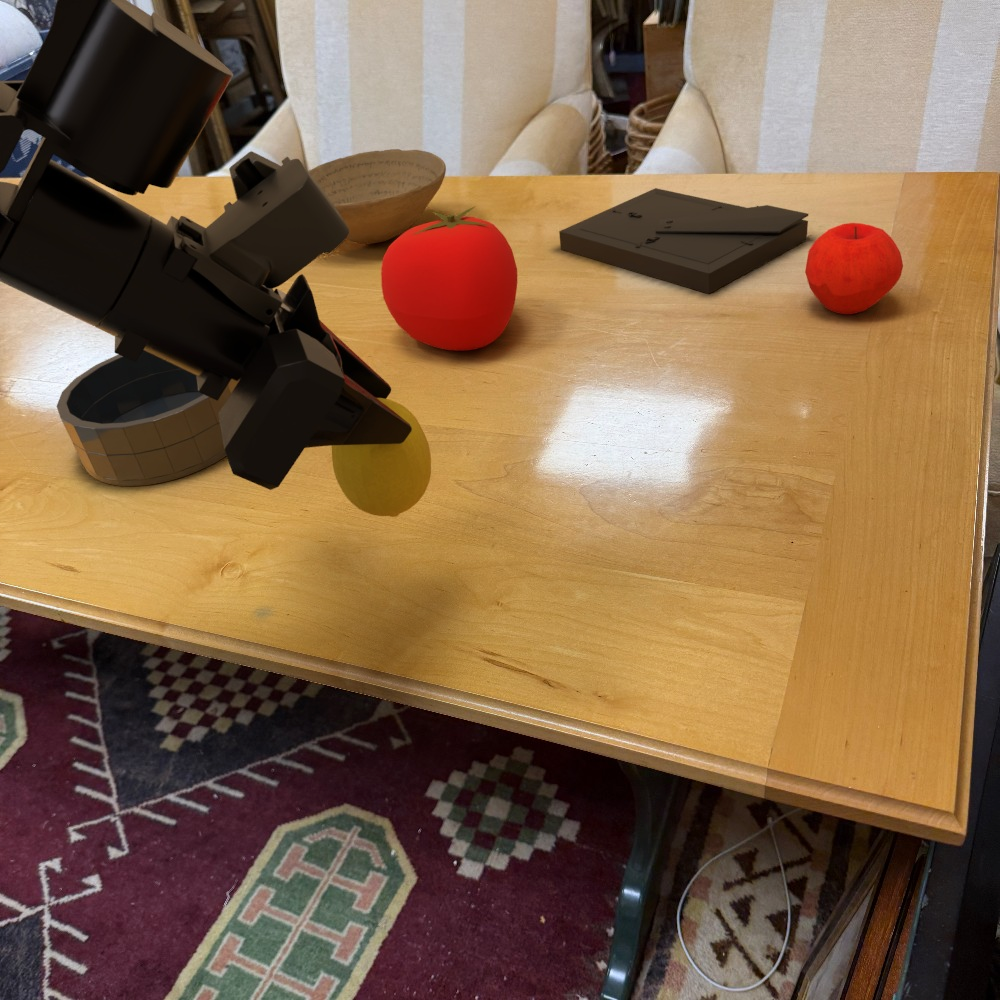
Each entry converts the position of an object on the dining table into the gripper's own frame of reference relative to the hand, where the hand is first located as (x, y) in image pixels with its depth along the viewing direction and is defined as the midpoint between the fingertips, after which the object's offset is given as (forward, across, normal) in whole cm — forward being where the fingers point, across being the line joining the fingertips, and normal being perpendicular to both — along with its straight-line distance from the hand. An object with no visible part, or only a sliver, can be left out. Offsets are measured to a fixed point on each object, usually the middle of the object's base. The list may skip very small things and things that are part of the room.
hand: (396, 414), depth 50 cm
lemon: (+4, 0, +6) cm, 7 cm away
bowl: (+17, +65, +2) cm, 67 cm away
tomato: (+18, +34, +1) cm, 38 cm away
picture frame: (+37, +41, -19) cm, 58 cm away
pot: (-2, +30, +20) cm, 36 cm away
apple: (+41, +20, -22) cm, 50 cm away
